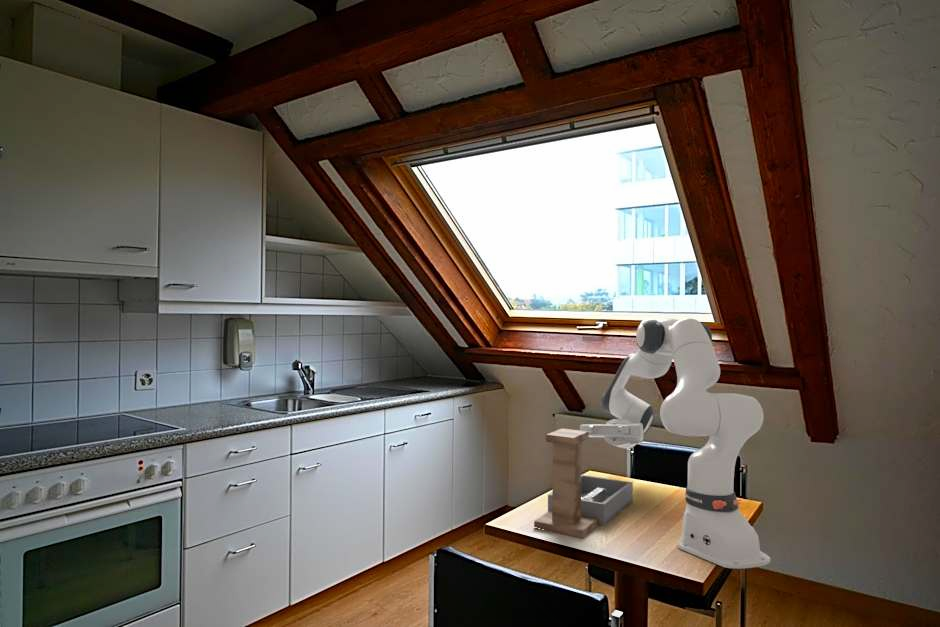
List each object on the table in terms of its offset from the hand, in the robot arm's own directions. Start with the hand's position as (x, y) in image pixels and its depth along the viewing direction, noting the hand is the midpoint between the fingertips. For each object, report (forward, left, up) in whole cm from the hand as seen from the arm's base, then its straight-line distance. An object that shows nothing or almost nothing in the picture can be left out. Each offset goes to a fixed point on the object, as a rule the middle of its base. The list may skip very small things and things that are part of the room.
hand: (604, 428), depth 200 cm
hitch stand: (-18, +23, -23) cm, 37 cm away
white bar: (-5, +7, -22) cm, 23 cm away
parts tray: (-5, +7, -23) cm, 24 cm away
